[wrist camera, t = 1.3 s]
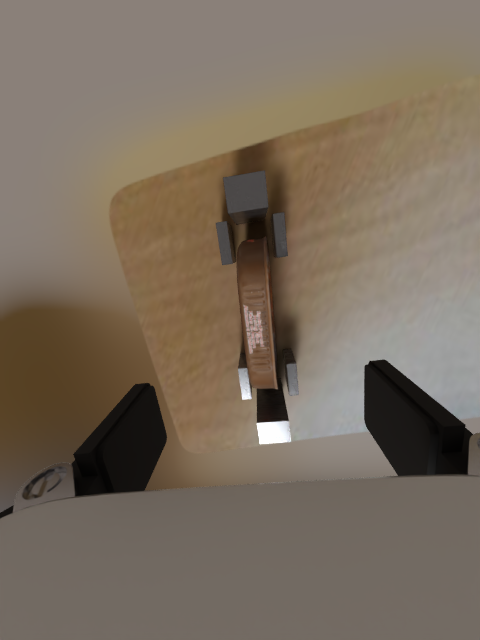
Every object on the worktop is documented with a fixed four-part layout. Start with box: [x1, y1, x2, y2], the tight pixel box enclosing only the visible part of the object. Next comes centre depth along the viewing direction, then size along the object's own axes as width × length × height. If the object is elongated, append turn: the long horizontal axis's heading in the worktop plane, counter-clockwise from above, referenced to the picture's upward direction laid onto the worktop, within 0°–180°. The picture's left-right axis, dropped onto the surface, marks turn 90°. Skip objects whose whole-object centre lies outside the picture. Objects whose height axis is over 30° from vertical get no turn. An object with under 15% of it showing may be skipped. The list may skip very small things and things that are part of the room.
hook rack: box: [216, 171, 299, 444], centre depth 24 cm, size 6×23×8 cm, turn 8°
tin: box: [237, 237, 278, 389], centre depth 24 cm, size 15×3×8 cm, turn 7°
